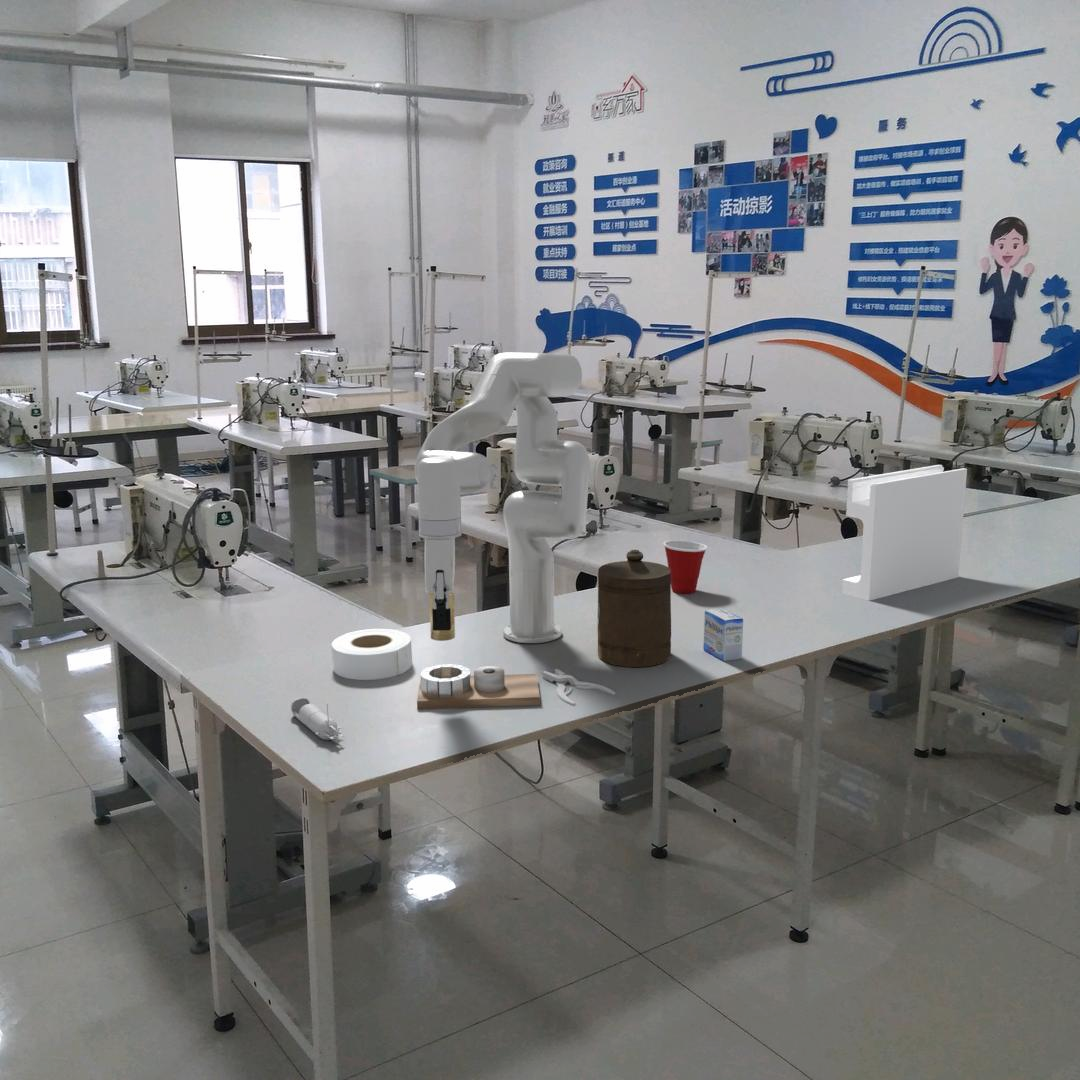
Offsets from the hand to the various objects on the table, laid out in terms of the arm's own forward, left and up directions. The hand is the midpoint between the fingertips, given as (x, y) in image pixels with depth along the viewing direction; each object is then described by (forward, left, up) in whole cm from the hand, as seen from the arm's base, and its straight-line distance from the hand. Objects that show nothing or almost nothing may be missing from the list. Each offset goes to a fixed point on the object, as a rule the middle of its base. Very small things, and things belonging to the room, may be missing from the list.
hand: (442, 624), depth 193 cm
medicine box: (-18, +56, -14) cm, 60 cm away
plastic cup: (-65, +57, -14) cm, 88 cm away
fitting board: (0, +6, -14) cm, 15 cm away
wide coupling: (0, 0, -12) cm, 12 cm away
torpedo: (+13, -21, -14) cm, 29 cm away
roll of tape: (-18, -15, -14) cm, 27 cm away
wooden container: (-19, +38, -14) cm, 45 cm away
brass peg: (0, 0, -2) cm, 2 cm away
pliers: (-3, +24, -14) cm, 28 cm away
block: (-65, +111, -14) cm, 130 cm away
